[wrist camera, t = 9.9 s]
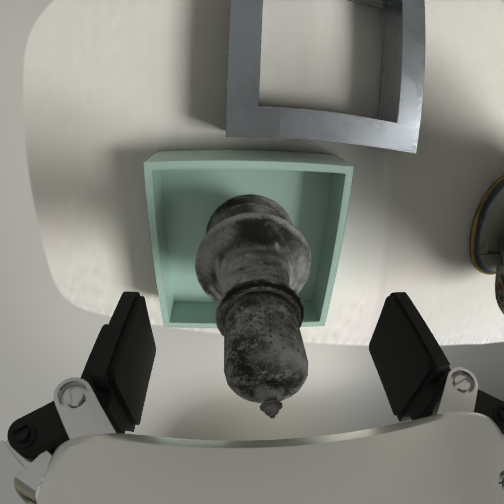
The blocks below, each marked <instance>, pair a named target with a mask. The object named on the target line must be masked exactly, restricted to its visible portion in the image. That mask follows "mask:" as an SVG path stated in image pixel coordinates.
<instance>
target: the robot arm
mask: <svg viewBox="0 0 504 504" xmlns="http://www.w3.org/2000/svg"><path fill="white" fill-rule="evenodd" d="M369 351H370V354H371V356H372V358H373V361H374V364H375V366H376V369H377V371H378V374H379V376H380V379H381V381H382V384H383V387H384V389H385V392H386V395H387V397H388V400H389V403H390V406H391V408H392V411H393V413H394V415H396V416H397V417H398V419H399V422H401V421H406V420H409V419H411V420H412V421H407V422H403V423H398V424H394V425H389V426H384V427H378V428H373V429H368V430H362V431H356V432H349V433H343V434H335V435H327V436H318V437H308V438H297V439H281V440H258V441H218V440H195V439H194V440H193V439H178V438H165V437H154V436H145V435H133V434H125V430H126V431H132V432H134V429H135V425H139V424H140V421H141V416H142V410H143V406H144V401H145V397H146V392H147V388H148V383H149V379H150V374H151V370H152V366H153V362H154V358H155V354H156V346H155V342H154V337H153V333H152V329H151V325H150V320H149V316H148V312H147V307H146V302H145V298H144V296H140V294H139V292H123V294H122V296H121V298H120V300H119V302H118V305H117V307H116V309H115V311H114V313H113V316H112V318H111V320H110V322H109V325H108V324H105V325H103V327H102V329H101V331H100V333H99V335H98V338H97V340H96V342H95V344H94V347H93V349H92V352H91V354H90V356H89V358H88V361H87V363H86V366H85V368H84V371H83V373H82V376H81V378H69V379H66V380H64V381H62V382H61V383H60V384H59V385H58V386H57V388H56V389H55V392H54V401H52V402H51V403H49V404H47V405H45V406H43V407H41V408H39V409H37V410H35V411H33V412H31V413H29V414H27V415H25V416H23V417H21V418H19V419H18V420H16V421H15V422H13V423H12V425H11V426H10V428H9V430H8V440H7V441H5V442H4V441H3V440H2V441H1V442H0V504H504V402H503V401H501V400H499V399H497V398H495V397H493V396H491V395H489V394H487V393H485V392H483V391H480V390H478V382H477V379H476V377H475V376H474V374H473V373H472V372H470V371H469V370H467V369H465V368H462V367H457V368H454V369H452V370H451V369H450V368H449V365H450V363H449V362H448V360H447V358H446V356H445V355H444V353H443V351H442V349H441V348H440V346H439V344H438V343H437V341H436V339H435V338H434V336H433V334H432V333H431V331H430V329H429V328H428V326H427V325H426V323H425V321H424V320H423V318H422V317H421V315H420V313H419V312H418V310H417V309H416V307H415V306H414V304H413V303H412V301H411V299H410V298H409V296H408V295H407V294H406V293H405V292H395V293H391V294H390V296H388V297H387V298H386V300H385V303H384V306H383V309H382V312H381V315H380V317H379V320H378V323H377V325H376V328H375V331H374V333H373V336H372V338H371V341H370V344H369ZM42 479H43V480H42ZM39 485H41V487H40V491H39V495H38V500H37V501H36V497H35V495H36V490H37V489H38V487H39Z"/></svg>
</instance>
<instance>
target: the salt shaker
mask: <svg viewBox="0 0 504 504" xmlns="http://www.w3.org/2000/svg"><path fill="white" fill-rule="evenodd" d="M310 269H311V252H310V249H309V246H308V243H307V240H306V239H305V237H304V236H303V235H302V233H301V232H300V230H299V229H298V228H297V227H295V226H294V225H293V224H292V222H291V219H290V217H289V215H288V214H287V212H286V211H285V210H284V208H283V207H282V206H280V205H279V204H278V203H276V202H275V201H274V200H271V199H269V198H266V197H264V196H259V195H243V196H237V197H235V198H232V199H230V200H227V201H226V202H225V203H223V204H222V205H221V206H219V207H218V208H217V209H216V211H215V212H214V213H213V214H212V216H211V217H210V220H209V222H208V225H207V229H206V235H205V237H204V238H203V239H202V240H201V243H200V245H199V248H198V250H197V253H196V260H195V271H196V275H197V279H198V282H199V284H200V285H201V287H202V289H203V290H204V292H205V293H206V294H207V295H208V296H209V297H210V298H211V299H212V300H213V301H214V302H216V303H218V305H217V307H216V312H215V321H216V325H217V328H218V329H219V331H220V333H221V334H222V335H223V336H224V372H225V376H226V380H227V383H228V385H229V386H230V388H231V389H232V390H233V391H234V392H235V393H236V394H237V395H239V396H240V397H242V398H243V399H246V400H248V401H251V402H257V403H262V404H261V406H260V410H262V411H263V412H265V414H266V415H268V416H269V417H270V418H274V417H275V415H277V414H278V412H279V410H280V409H281V408H282V403H281V402H279V401H282V400H284V399H286V398H289V397H291V396H292V395H294V394H295V393H296V392H298V390H299V389H300V388H301V387H302V385H303V384H304V382H305V380H306V378H307V376H308V360H307V356H306V352H305V348H304V344H303V340H302V337H301V333H300V329H299V328H300V327H301V325H302V322H303V319H304V307H303V304H302V301H301V299H300V297H299V296H298V295H297V294H298V293H299V292H300V291H301V289H302V288H303V286H304V284H305V283H306V281H307V279H308V276H309V273H310Z"/></svg>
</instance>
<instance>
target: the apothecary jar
mask: <svg viewBox="0 0 504 504" xmlns="http://www.w3.org/2000/svg"><path fill="white" fill-rule="evenodd" d="M470 252H471V258H472V261H473V264H474V266H475V267H476V269H477V270H478V271H480V272H481V273H484V274H488V275H492V274H496V279H495V294H496V300H497V303H498V306H499V308H500V309H501V311H502V313H503V314H504V176H502V177H501V178H500V179H498V180H497V181H496V182H495V183H494V184H493V185H492V187H491V188H490V189H489V190H488V192H487V193H486V195H485V196H484V198H483V200H482V202H481V204H480V206H479V208H478V211H477V213H476V216H475V219H474V222H473V226H472V231H471V237H470Z"/></svg>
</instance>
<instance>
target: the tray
mask: <svg viewBox="0 0 504 504" xmlns="http://www.w3.org/2000/svg"><path fill="white" fill-rule="evenodd" d="M353 170H354V167H353V166H352V165H350V164H349V163H347V162H346V161H344V160H343V159H341V158H340V157H338V156H337V155H330V154H317V153H303V152H286V151H261V150H180V151H157V152H156V153H155V154H154V155H152V156H151V157H150V158H149V159H147V160H146V161H145V162H144V178H145V191H146V202H147V212H148V222H149V231H150V239H151V247H152V255H153V262H154V269H155V276H156V283H157V289H158V295H159V301H160V307H161V313H162V318H163V324H164V327H179V328H217V325H216V321H215V312H216V307H217V305H218V303H216V302H214V301H213V300H212V299H211V298H210V297H209V296H208V295H207V294H206V293H205V292H204V290H203V289H202V287H201V285H200V284H199V282H198V279H197V275H196V271H195V260H196V253H197V250H198V248H199V245H200V243H201V240H202V239H203V238H204V237H205V235H206V229H207V225H208V222H209V220H210V217H211V216H212V214H213V213H214V212H215V211H216V209H217V208H218V207H219V206H221V205H222V204H223V203H225V202H226V201H227V200H230V199H232V198H235V197H237V196H243V195H259V196H264V197H266V198H269V199H271V200H274V201H275V202H276V203H278V204H279V205H280V206H282V207H283V208H284V210H285V211H286V212H287V214H288V215H289V217H290V219H291V222H292V224H293V225H294V226H295V227H297V228H298V229H299V230H300V232H301V233H302V235H303V236H304V237H305V239H306V240H307V243H308V246H309V249H310V252H311V269H310V273H309V276H308V279H307V281H306V283H305V284H304V286H303V288H302V289H301V291H300V292H299V293H298V294H297V295H298V296H299V297H300V299H301V301H302V304H303V307H304V319H303V322H302V325H301V327H307V326H325V322H326V317H327V313H328V309H329V304H330V300H331V295H332V291H333V286H334V281H335V277H336V272H337V267H338V262H339V256H340V251H341V246H342V240H343V235H344V229H345V223H346V217H347V211H348V205H349V198H350V191H351V184H352V177H353Z"/></svg>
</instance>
